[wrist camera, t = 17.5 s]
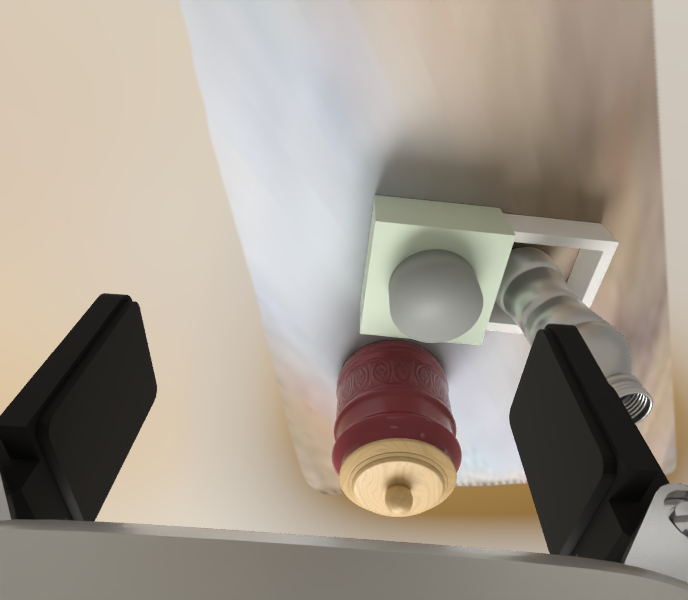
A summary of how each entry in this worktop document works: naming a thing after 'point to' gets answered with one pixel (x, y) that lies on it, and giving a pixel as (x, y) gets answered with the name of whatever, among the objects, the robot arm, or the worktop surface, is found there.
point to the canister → (395, 430)
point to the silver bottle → (568, 321)
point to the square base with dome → (460, 267)
